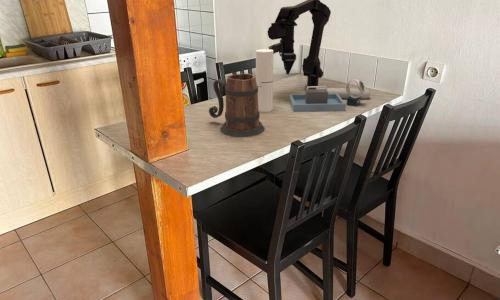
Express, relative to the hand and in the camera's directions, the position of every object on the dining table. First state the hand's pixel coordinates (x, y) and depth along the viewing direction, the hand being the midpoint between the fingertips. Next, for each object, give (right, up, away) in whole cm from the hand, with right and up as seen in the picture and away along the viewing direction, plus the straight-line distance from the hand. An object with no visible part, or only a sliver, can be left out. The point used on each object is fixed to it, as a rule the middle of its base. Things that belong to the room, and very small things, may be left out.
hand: (286, 72), depth 172 cm
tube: (+26, -12, +2) cm, 29 cm away
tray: (+12, -16, -8) cm, 22 cm away
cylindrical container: (-11, -19, -11) cm, 24 cm away
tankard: (-23, -28, -30) cm, 47 cm away
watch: (+29, -16, -7) cm, 34 cm away
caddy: (+12, -16, -8) cm, 21 cm away
